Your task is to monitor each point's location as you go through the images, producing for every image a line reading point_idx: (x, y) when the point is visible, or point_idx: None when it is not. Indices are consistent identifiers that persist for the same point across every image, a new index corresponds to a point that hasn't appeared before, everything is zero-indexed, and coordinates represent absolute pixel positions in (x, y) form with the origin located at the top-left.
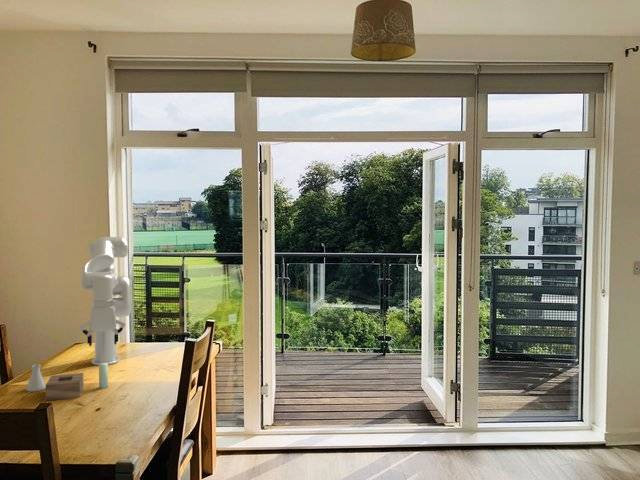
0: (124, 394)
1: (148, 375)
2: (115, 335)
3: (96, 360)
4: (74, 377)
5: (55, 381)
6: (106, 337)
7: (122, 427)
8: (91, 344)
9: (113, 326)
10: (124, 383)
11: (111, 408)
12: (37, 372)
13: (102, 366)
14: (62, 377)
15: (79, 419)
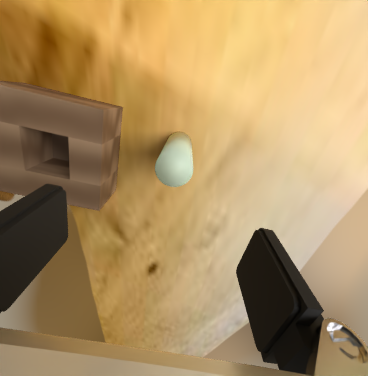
0: (215, 222)
1: (343, 92)
2: (268, 355)
3: None
4: (76, 155)
5: (19, 168)
6: None
7: (177, 332)
8: (65, 216)
9: None
10: (241, 139)
11: (174, 275)
12: None
13: (168, 183)
14: (31, 127)
15: (120, 290)
